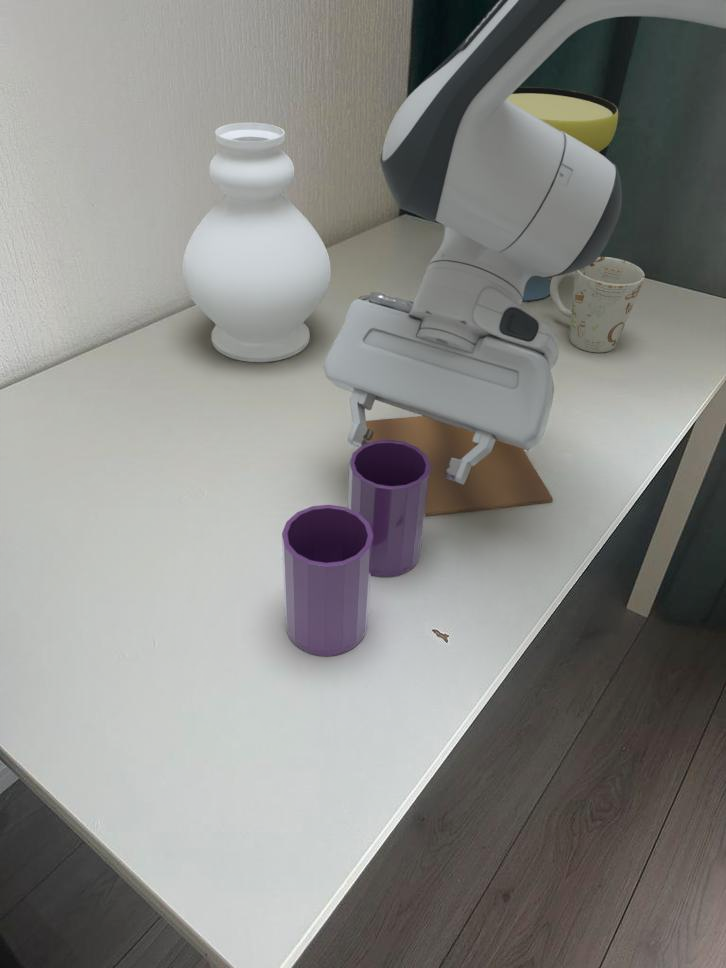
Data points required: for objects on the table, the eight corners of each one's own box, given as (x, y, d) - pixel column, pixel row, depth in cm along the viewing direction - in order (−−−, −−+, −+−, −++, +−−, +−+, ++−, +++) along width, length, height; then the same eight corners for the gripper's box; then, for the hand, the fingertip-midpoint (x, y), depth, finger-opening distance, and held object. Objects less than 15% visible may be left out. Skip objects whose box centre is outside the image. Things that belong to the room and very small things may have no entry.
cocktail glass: (444, 300, 110) (465, 111, 94) (468, 253, 124) (490, 81, 108) (572, 322, 106) (616, 128, 91) (582, 271, 120) (623, 95, 104)
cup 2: (410, 522, 73) (418, 436, 67) (428, 572, 68) (439, 484, 62) (341, 530, 72) (343, 443, 66) (354, 581, 67) (358, 492, 61)
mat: (498, 412, 88) (499, 409, 88) (552, 502, 76) (553, 499, 76) (361, 423, 85) (361, 420, 85) (394, 519, 73) (395, 516, 73)
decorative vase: (224, 298, 108) (208, 104, 92) (346, 318, 105) (351, 120, 89) (166, 359, 95) (135, 144, 79) (303, 384, 91) (300, 165, 75)
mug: (599, 364, 98) (619, 290, 91) (522, 326, 105) (536, 256, 98) (637, 344, 102) (658, 273, 96) (560, 310, 109) (575, 241, 103)
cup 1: (358, 589, 66) (362, 500, 60) (374, 650, 61) (381, 560, 55) (281, 599, 65) (277, 509, 59) (291, 661, 60) (288, 571, 54)
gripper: (346, 272, 68) (288, 417, 68) (571, 333, 61) (508, 496, 60) (369, 300, 74) (315, 434, 73) (576, 359, 67) (518, 507, 66)
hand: (404, 463), depth 67 cm, fingers open, 8 cm apart
